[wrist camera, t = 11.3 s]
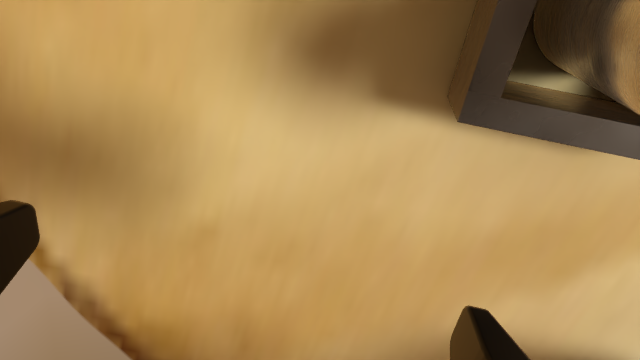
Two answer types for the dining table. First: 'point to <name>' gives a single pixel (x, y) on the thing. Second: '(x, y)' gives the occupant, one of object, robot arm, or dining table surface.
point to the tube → (594, 43)
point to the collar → (530, 90)
